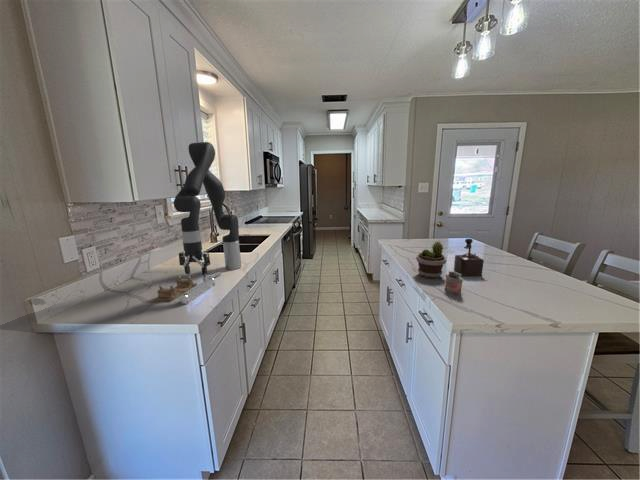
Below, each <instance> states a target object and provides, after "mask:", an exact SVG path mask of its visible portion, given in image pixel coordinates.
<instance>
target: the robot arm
mask: <svg viewBox="0 0 640 480" xmlns="http://www.w3.org/2000/svg"><path fill="white" fill-rule="evenodd" d="M188 154H189V157H190V159H191V161H192V163H193V165H194V168H192V170H191V171H189V173H188V174H187V176H186V178H185V181H184V184H183V186H182V188H181V189H180V190H179V192H177V194H176V196H174V200H173V207H174V209H175V211H176V212H178V213H189V216H186V217H183V218H181V220H180V226H181V237H182V238H181V240H182V246H183V251H182V252H179V253H178V260H179V262H178V263H179V266H183V267H184V269H183V270H184V273H185V275H189V274H191V267H190V264H191V263H196V264H198V265H199V266H200V267H201V275H203V276H204V275H206V274H208V268H207V267H208V266H210V265H211V260H210V258H211V257H210V254H209V252H203V251H202V250H203V246H202V245H203V243H202V235H201V232H200V225H199V224H200V223H199V218H200V213H201V212H200V211H201V206H202V205H201V204H202V203H201V200H200V199H199V197H198V196H199V195H200V193H201V191H202V186H203V187H204V190H205V193H206V194H207V198H208V199H209V202H210V204H211V207H212V209H213V214H214V216H215V220H216V224H217V226H218V228H219V229H220V230H223V231H229V233H228V234H226V235H224V236H222V239H221V240H222V245H223V247H222V248H223V256H224V257H223V258H224V266H225V269H226V270H228V271H232V270H233V271H235V270H238V269H240V268H241V267H242V257H241V251H240V240H239V237H240V234H239V233H240V230H239V219H238V217H237V215H236V214H225V213H224V209H223V206H224V202H225V200H226V191H225V188H224V186H223V183H222V182H221V180H220V179H219V178H218V177H217V176H216V175H214V174H213V173H212V171H210V168H211V167H212V164H213V162H214V160H215V157H216V149H215V147H214V145H213V144H212V143H211V142H209V141H201V142H191V143H189V144H188Z"/></svg>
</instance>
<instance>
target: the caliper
mask: <svg viewBox="0 0 640 480" xmlns="http://www.w3.org/2000/svg"><path fill="white" fill-rule="evenodd" d="M220 275H222V271H218V272H215V273H213V274H208V273H206V274H205V275H203V277H202V278H203V279H202V282H203V281H204V280H206V279H208V278H210V277H214V278H215V277H218V276H220Z"/></svg>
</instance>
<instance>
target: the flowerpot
mask: <svg viewBox="0 0 640 480" xmlns="http://www.w3.org/2000/svg"><path fill="white" fill-rule="evenodd" d="M443 253H444V245H443V244H442V242H441V240H440V239H438V240H437V241H434V243H432V246H431V249H428V248H426V249H425V248H423V249H422V251H421V252H419V253H418V255H416V257H415V259H416V261H417V263H418V268H417V272H418V274H419V275H420V277H422V278H426V279H431V280H432V279H439V278H440V277H441V276H442V274H443V270H442V269H443V267H444V265H445V264H446V263H447V259H446V257H445V256H444V254H443Z"/></svg>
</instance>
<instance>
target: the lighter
mask: <svg viewBox="0 0 640 480" xmlns="http://www.w3.org/2000/svg"><path fill="white" fill-rule="evenodd" d="M462 277H463V276H462V275H461V274H459V273H457V272H455V271H454V270H453V271H452V270H448V273H447V274H445V284H444V288H443V289H444V291H445V292H447V293H448V294H451V295H453V296H457V297H461V296H462V288H463V287H462V286H463V281H464V279H463V278H462Z"/></svg>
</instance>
